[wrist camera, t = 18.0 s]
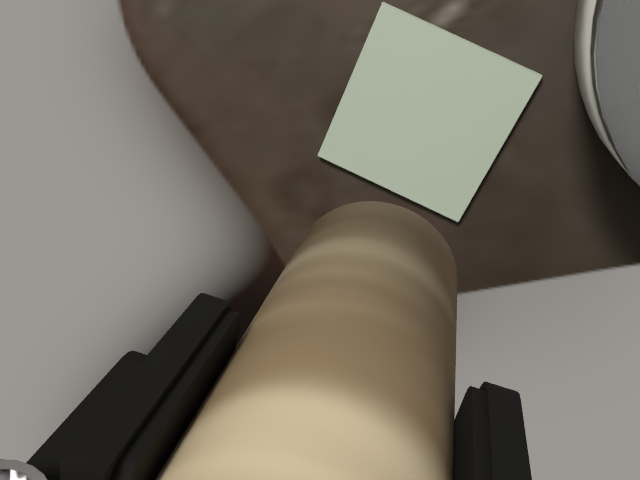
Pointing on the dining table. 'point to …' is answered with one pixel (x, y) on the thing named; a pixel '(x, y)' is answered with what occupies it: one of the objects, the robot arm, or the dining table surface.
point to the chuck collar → (618, 77)
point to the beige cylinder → (339, 362)
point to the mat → (426, 112)
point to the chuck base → (588, 67)
